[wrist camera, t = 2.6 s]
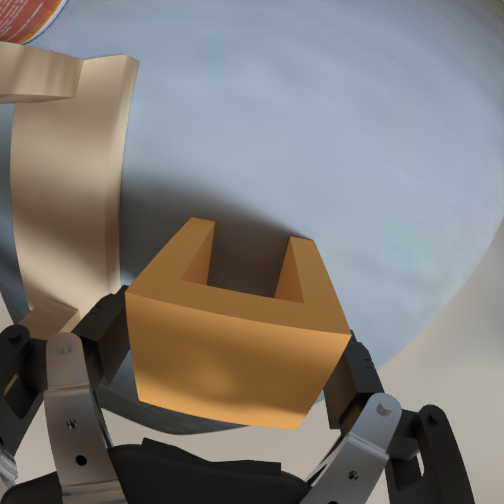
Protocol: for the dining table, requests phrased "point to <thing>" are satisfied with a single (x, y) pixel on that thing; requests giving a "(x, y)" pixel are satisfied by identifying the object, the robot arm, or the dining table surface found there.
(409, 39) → the dining table surface
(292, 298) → the notched orange block
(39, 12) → the pill bottle
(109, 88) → the rack
